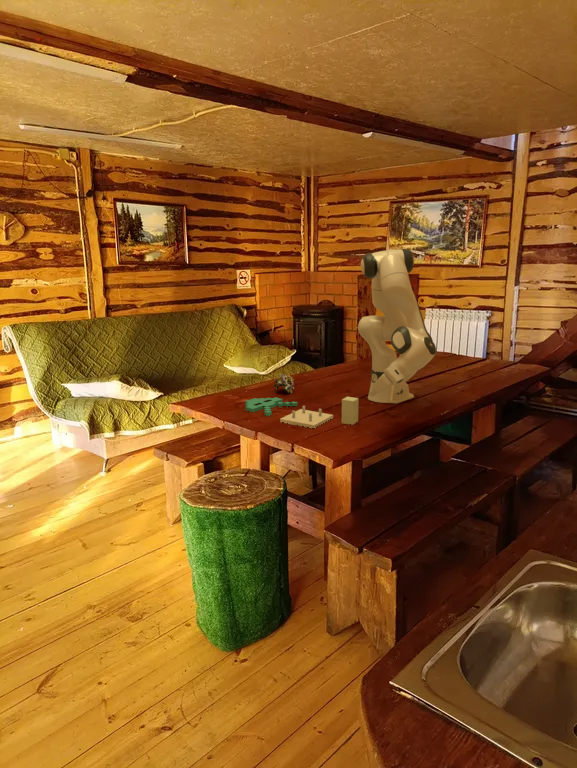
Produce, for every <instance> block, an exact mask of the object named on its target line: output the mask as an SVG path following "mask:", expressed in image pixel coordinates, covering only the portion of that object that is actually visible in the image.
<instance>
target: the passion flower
mask: <svg viewBox="0 0 577 768" xmlns="http://www.w3.org/2000/svg"><path fill="white" fill-rule="evenodd" d="M278 375H279V377H280V378H274V382H275V384H273V385H272V388H275V392H277V391H278V389H280V387H283V390H284V391H285V392H286V393H288V394H293V390H295V387H294V386H295V383H294V382H295V380H294V378H293V376H292V375H285V374H284V373H283V374H281V372H279V374H278Z"/></svg>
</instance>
